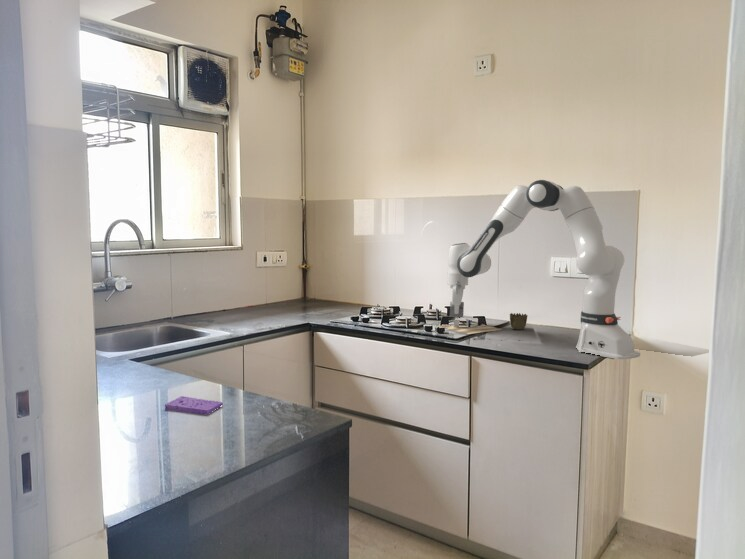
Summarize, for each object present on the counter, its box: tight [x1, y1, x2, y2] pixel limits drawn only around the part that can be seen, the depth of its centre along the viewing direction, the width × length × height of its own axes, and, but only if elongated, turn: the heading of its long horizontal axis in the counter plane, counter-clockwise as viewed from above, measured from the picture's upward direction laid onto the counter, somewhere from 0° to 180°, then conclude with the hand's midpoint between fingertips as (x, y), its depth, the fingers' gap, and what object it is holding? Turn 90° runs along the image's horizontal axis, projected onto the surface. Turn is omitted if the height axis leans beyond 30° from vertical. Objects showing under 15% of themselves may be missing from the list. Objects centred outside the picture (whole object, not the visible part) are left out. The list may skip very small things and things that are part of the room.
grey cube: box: [449, 300, 465, 318], centre depth 248 cm, size 6×6×6 cm
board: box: [436, 324, 503, 335], centre depth 247 cm, size 20×20×2 cm
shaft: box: [453, 319, 461, 328], centre depth 248 cm, size 2×2×3 cm
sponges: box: [164, 395, 224, 415], centre depth 143 cm, size 7×13×2 cm, turn 72°
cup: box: [509, 312, 528, 331], centre depth 245 cm, size 8×7×8 cm
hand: (456, 312), depth 248 cm, fingers closed on grey cube, 6 cm apart
